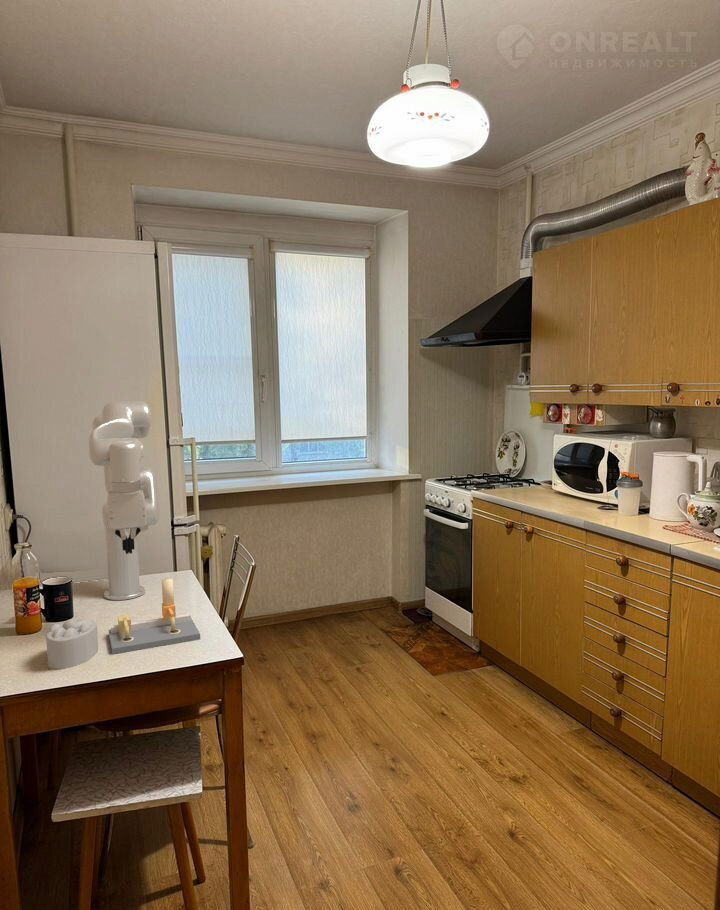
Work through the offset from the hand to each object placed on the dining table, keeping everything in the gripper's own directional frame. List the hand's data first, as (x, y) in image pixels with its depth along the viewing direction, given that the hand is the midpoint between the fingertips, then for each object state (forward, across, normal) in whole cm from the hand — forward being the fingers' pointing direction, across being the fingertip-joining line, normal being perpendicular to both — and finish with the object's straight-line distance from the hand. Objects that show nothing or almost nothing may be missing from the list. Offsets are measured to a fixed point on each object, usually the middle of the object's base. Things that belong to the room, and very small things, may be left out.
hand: (128, 552), depth 173 cm
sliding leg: (+20, -9, +7) cm, 23 cm away
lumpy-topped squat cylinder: (+22, +16, +14) cm, 30 cm away
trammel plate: (+22, -5, +9) cm, 24 cm away
